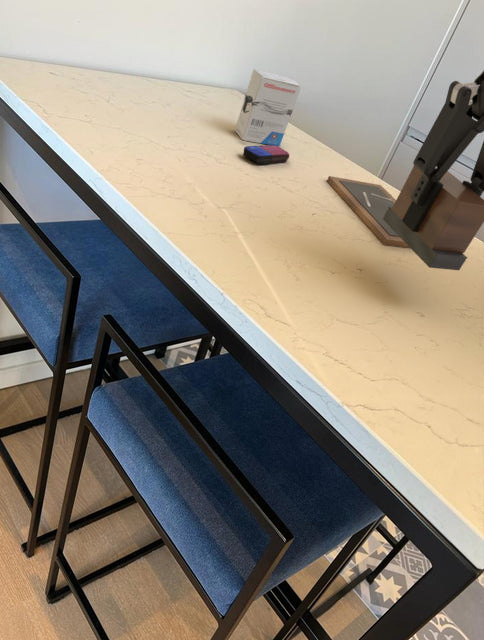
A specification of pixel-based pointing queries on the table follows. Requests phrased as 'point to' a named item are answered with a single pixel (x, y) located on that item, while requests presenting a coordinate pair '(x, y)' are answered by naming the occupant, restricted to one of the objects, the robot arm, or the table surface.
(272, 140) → the ink box
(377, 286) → the table surface
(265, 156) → the eraser
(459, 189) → the duster
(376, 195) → the board
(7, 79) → the table surface
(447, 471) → the table surface
